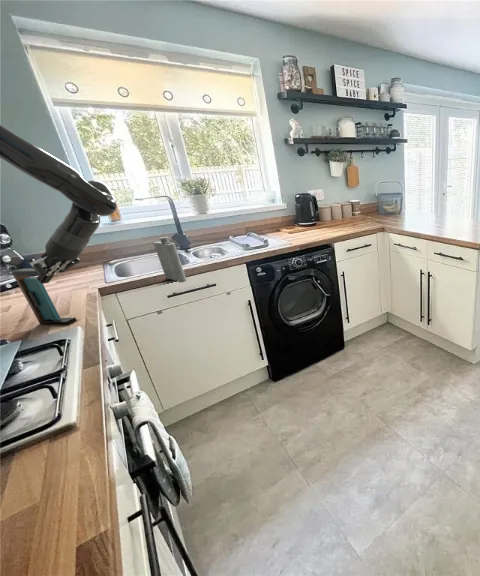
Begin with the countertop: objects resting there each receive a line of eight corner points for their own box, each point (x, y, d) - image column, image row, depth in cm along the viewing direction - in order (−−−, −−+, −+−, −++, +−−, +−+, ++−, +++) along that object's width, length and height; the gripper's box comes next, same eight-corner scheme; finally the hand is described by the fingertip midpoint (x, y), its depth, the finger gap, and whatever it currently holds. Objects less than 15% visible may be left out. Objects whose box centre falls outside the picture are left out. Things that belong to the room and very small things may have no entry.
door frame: (67, 325, 105) (39, 270, 98) (40, 324, 107) (10, 271, 100) (76, 320, 108) (50, 267, 101) (50, 320, 110) (22, 268, 103)
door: (53, 321, 105) (31, 280, 100) (40, 320, 106) (18, 280, 101) (63, 316, 108) (43, 276, 103) (51, 316, 109) (30, 276, 104)
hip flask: (164, 278, 148) (150, 237, 141) (173, 275, 151) (160, 235, 144) (180, 282, 139) (166, 239, 132) (190, 279, 142) (176, 237, 135)
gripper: (82, 230, 97) (55, 269, 100) (32, 232, 84) (4, 277, 87) (101, 247, 98) (74, 285, 101) (55, 251, 85) (26, 295, 88)
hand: (42, 281), depth 94 cm, fingers closed
